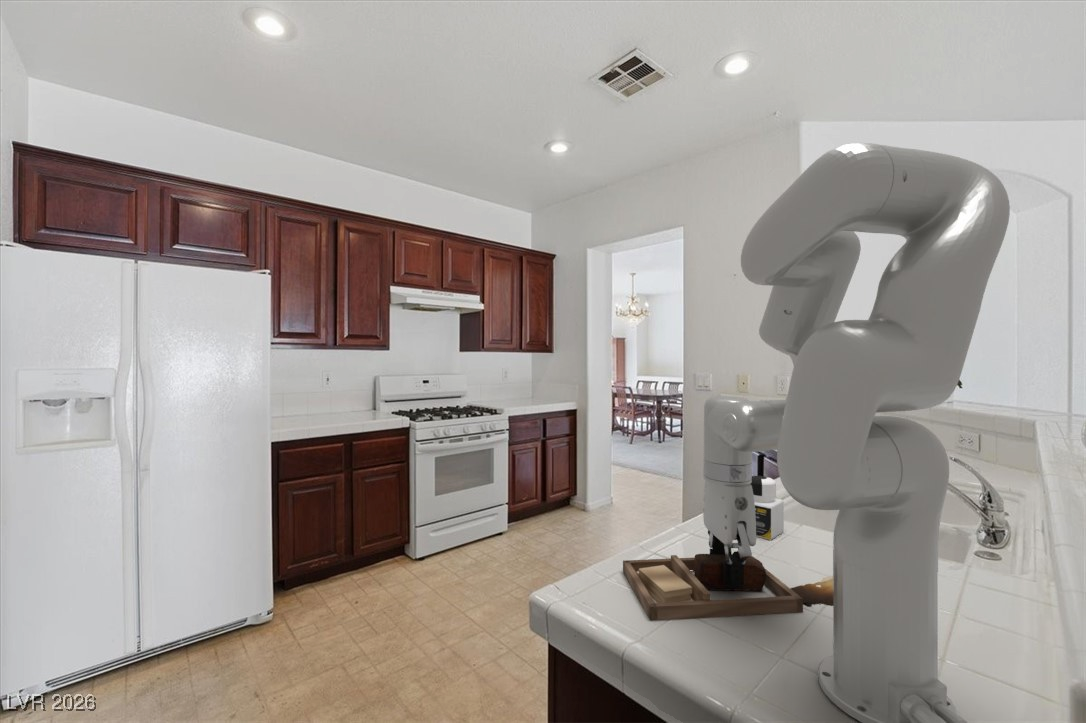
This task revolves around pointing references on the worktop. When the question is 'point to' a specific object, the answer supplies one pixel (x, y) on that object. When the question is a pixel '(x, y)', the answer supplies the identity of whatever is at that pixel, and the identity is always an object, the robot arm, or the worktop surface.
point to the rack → (707, 595)
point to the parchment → (816, 592)
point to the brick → (712, 572)
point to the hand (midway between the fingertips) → (725, 577)
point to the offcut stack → (664, 584)
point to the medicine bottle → (767, 508)
